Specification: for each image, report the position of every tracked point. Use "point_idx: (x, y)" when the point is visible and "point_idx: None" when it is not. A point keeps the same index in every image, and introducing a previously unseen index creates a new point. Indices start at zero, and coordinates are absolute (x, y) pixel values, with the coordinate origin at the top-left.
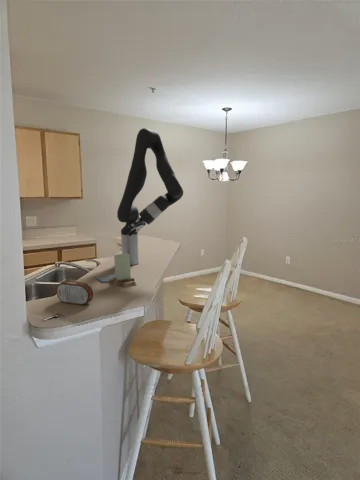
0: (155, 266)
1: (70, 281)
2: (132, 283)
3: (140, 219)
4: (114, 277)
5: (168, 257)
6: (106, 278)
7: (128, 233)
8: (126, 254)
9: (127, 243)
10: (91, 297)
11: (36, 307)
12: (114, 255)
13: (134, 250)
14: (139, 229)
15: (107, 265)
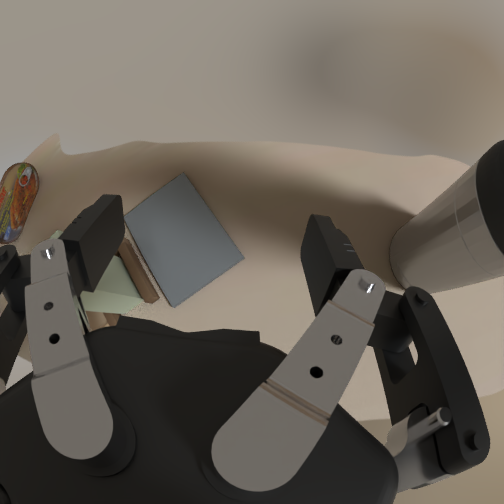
0: (370, 387)
1: (2, 185)
2: (89, 323)
3: (3, 467)
4: (127, 250)
5: (495, 392)
6: (159, 216)
7: (310, 226)
8: None
9: (444, 220)
10: (3, 242)
11: (32, 156)
12: (57, 232)
13: (435, 273)
14: (382, 368)
15: (378, 168)
